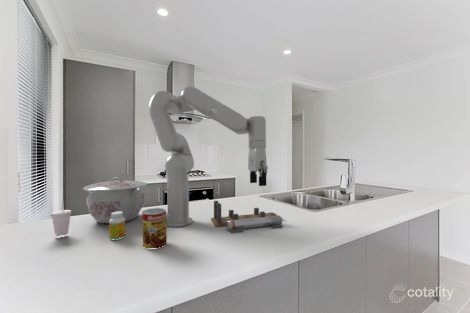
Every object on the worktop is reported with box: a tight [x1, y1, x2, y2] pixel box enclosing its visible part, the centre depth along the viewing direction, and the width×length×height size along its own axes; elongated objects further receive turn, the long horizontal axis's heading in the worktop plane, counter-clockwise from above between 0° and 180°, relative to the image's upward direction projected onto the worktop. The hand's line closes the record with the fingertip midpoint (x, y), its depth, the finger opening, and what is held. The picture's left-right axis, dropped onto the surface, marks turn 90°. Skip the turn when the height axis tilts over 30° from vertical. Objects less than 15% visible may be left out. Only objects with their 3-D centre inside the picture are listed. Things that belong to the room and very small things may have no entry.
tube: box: [225, 215, 283, 231], centre depth 96 cm, size 24×4×4 cm, turn 107°
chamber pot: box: [82, 176, 148, 225], centre depth 108 cm, size 28×28×21 cm
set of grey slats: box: [230, 224, 284, 234], centre depth 96 cm, size 23×6×1 cm, turn 107°
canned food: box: [141, 207, 168, 248], centre depth 79 cm, size 8×8×12 cm
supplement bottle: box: [108, 211, 126, 240], centre depth 85 cm, size 5×5×10 cm
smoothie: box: [50, 200, 72, 237], centre depth 87 cm, size 6×6×14 cm
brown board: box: [210, 200, 279, 228], centre depth 106 cm, size 32×10×9 cm, turn 107°
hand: (257, 184), depth 98 cm, fingers open, 9 cm apart
